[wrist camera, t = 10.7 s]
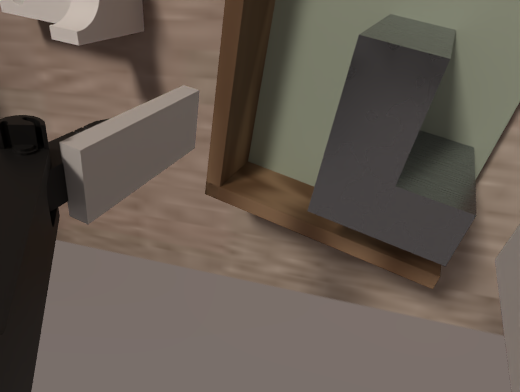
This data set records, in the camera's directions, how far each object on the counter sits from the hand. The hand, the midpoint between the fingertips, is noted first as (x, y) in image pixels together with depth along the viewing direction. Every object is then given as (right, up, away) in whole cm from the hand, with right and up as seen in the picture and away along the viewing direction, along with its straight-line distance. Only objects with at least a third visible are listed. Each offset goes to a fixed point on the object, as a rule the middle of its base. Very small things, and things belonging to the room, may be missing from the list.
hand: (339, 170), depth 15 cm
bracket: (+8, +5, +11) cm, 14 cm away
